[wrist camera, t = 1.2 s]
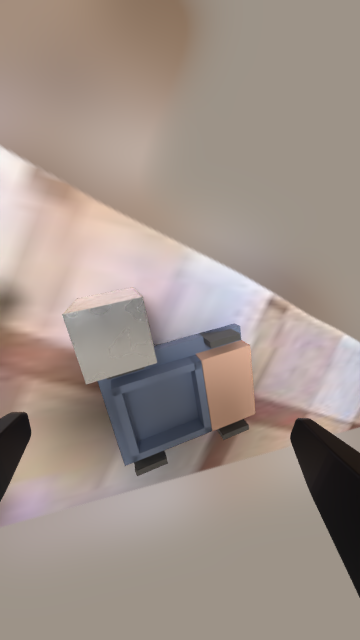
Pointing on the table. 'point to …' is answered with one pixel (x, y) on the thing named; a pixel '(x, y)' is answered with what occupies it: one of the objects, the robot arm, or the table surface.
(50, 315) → the table surface
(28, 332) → the table surface
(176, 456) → the table surface
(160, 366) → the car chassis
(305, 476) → the robot arm
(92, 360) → the grey rectangular block
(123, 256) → the table surface
